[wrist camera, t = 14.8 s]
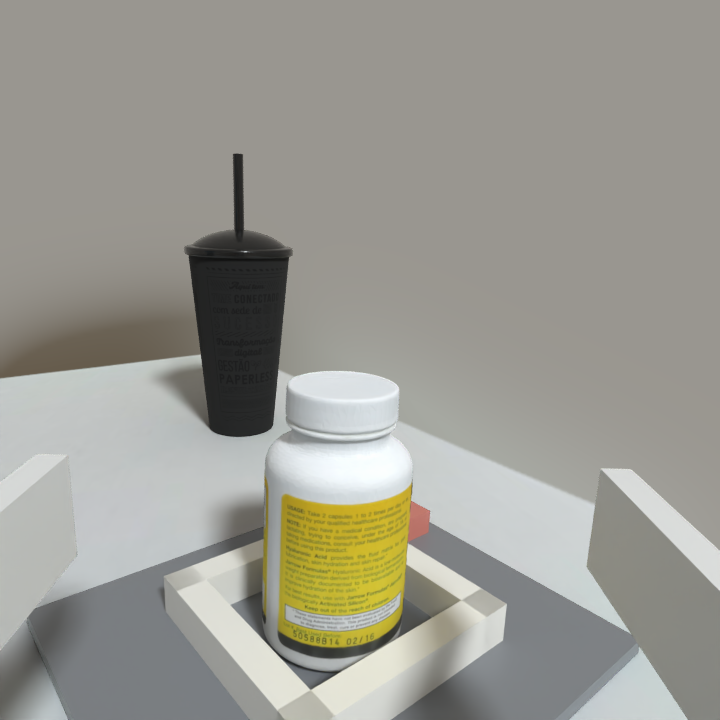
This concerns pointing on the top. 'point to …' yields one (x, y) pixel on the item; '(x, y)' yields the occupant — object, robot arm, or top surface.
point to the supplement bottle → (336, 521)
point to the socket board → (320, 688)
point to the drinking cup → (239, 320)
